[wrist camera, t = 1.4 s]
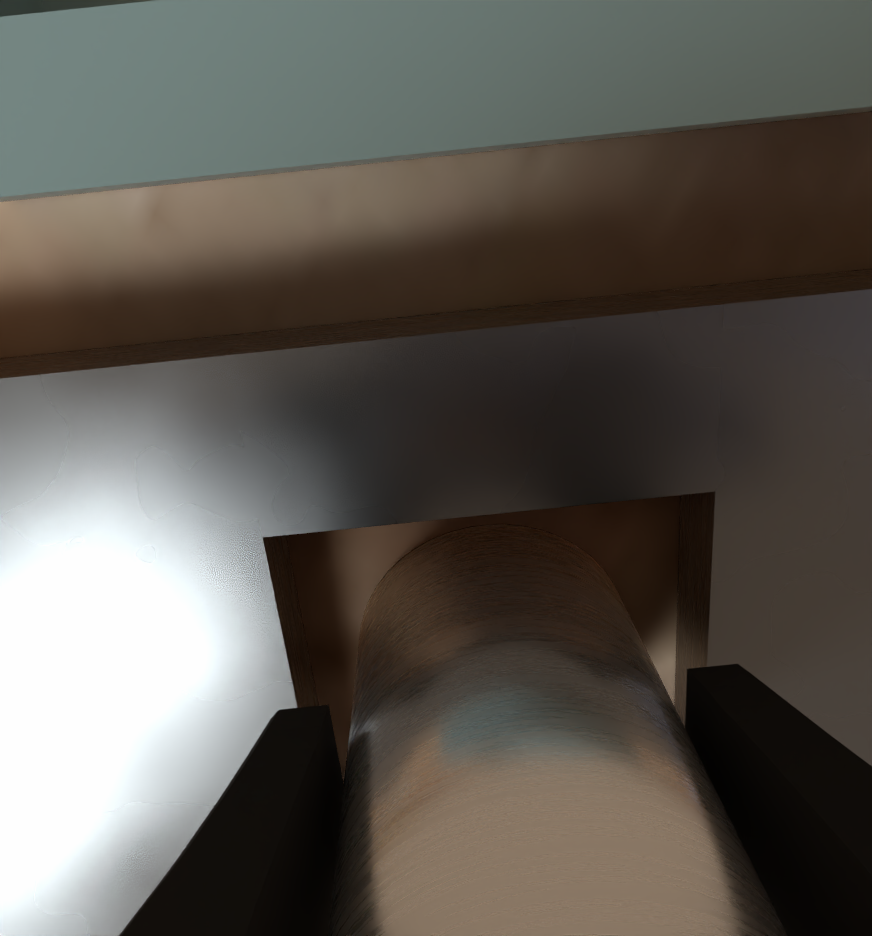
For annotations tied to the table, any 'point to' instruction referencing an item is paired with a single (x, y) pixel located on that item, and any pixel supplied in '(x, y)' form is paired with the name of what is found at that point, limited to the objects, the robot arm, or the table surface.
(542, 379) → the bracket
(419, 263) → the table surface
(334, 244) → the table surface
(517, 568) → the orange-capped cylinder
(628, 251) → the table surface
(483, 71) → the tray
